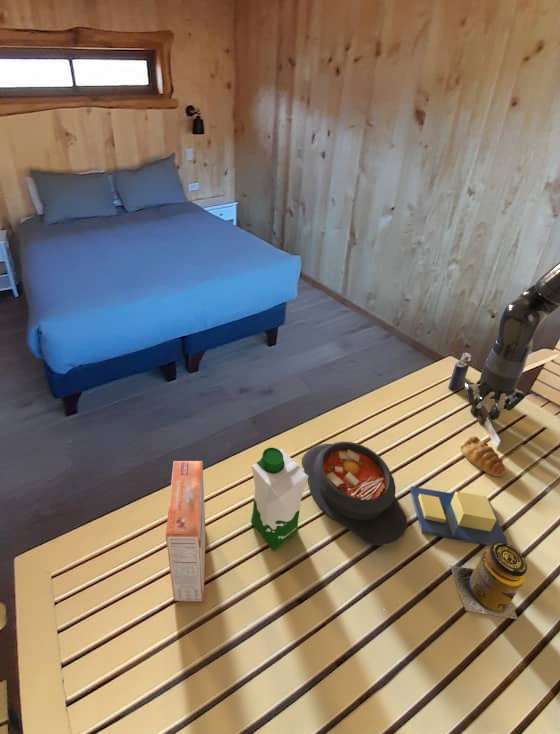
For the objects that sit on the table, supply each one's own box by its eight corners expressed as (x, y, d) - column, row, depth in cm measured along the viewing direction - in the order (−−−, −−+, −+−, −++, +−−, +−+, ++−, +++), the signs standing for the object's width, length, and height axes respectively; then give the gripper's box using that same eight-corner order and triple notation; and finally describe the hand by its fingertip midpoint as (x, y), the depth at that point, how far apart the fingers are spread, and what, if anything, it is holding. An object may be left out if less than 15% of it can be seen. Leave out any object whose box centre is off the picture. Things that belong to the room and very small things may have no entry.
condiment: (517, 619, 70) (543, 582, 64) (465, 611, 71) (485, 573, 66) (497, 573, 76) (518, 536, 71) (449, 566, 78) (466, 529, 72)
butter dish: (487, 502, 89) (494, 487, 86) (508, 549, 80) (516, 534, 78) (409, 489, 92) (414, 474, 90) (421, 533, 83) (427, 518, 81)
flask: (456, 373, 126) (466, 346, 121) (467, 378, 124) (477, 350, 119) (446, 388, 120) (455, 360, 115) (456, 393, 118) (467, 365, 113)
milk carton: (274, 499, 90) (281, 437, 81) (304, 533, 83) (315, 469, 74) (244, 521, 86) (247, 458, 77) (273, 559, 79) (280, 495, 70)
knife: (472, 410, 112) (475, 402, 111) (480, 411, 112) (483, 403, 110) (492, 449, 101) (496, 440, 100) (501, 450, 100) (505, 441, 99)
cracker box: (178, 525, 86) (172, 458, 76) (206, 525, 85) (204, 459, 76) (171, 602, 73) (163, 534, 64) (204, 604, 73) (201, 536, 63)
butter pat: (439, 497, 88) (419, 493, 88) (446, 519, 83) (425, 515, 84) (437, 500, 88) (418, 496, 89) (444, 523, 84) (424, 518, 85)
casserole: (426, 525, 85) (435, 500, 81) (360, 568, 77) (368, 543, 74) (341, 438, 105) (345, 415, 101) (282, 466, 98) (285, 442, 94)
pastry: (510, 472, 95) (516, 461, 93) (490, 482, 93) (495, 471, 91) (474, 442, 103) (478, 431, 101) (454, 450, 101) (458, 439, 99)
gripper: (478, 373, 99) (459, 423, 107) (543, 381, 96) (519, 431, 104) (466, 354, 106) (449, 403, 113) (527, 361, 103) (506, 410, 111)
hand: (483, 416), depth 109 cm, fingers open, 3 cm apart
